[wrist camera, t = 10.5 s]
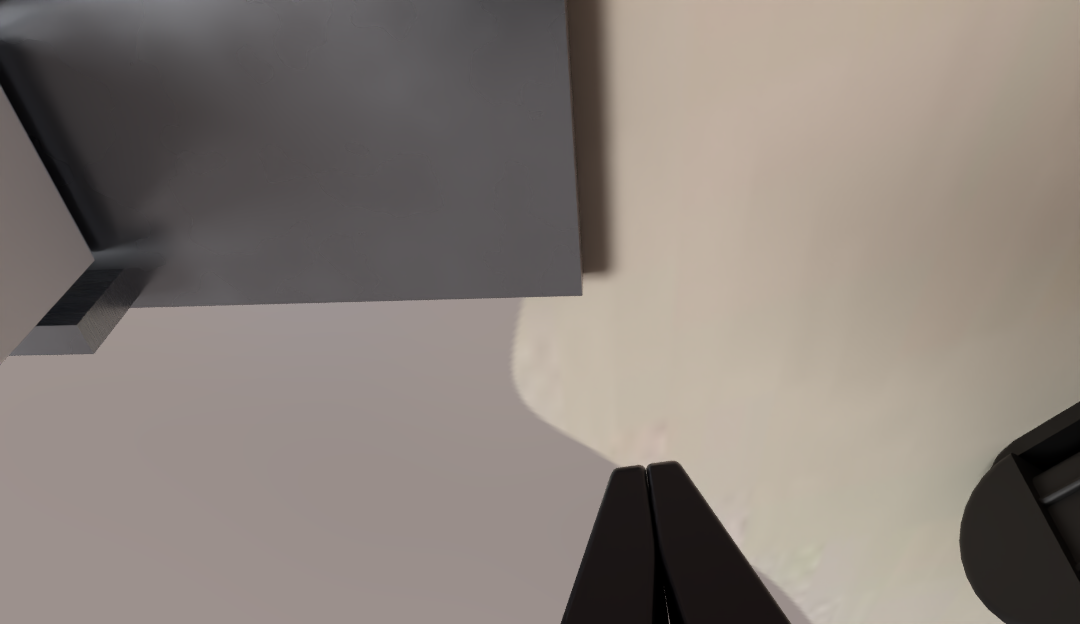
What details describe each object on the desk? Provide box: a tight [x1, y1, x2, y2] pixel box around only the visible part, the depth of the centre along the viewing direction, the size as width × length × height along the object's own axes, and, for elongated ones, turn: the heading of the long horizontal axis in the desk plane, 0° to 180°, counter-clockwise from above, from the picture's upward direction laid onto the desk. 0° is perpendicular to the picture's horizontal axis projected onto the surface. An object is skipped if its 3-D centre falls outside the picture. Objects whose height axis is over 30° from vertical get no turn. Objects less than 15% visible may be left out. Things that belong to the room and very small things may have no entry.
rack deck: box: [0, 0, 583, 356], centre depth 18 cm, size 24×10×7 cm, turn 95°
